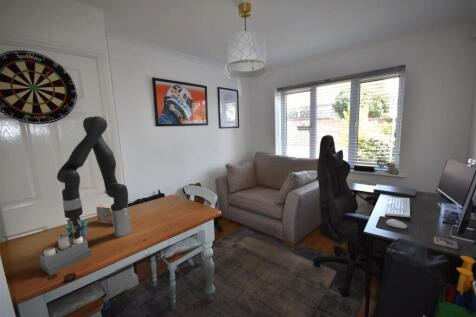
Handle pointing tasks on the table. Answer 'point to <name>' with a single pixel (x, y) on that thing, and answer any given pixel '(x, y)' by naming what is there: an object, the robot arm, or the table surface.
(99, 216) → the cereal box
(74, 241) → the knob
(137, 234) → the table surface
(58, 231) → the table surface
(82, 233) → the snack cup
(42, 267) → the grey compartment box
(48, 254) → the knob
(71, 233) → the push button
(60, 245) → the knob mid
